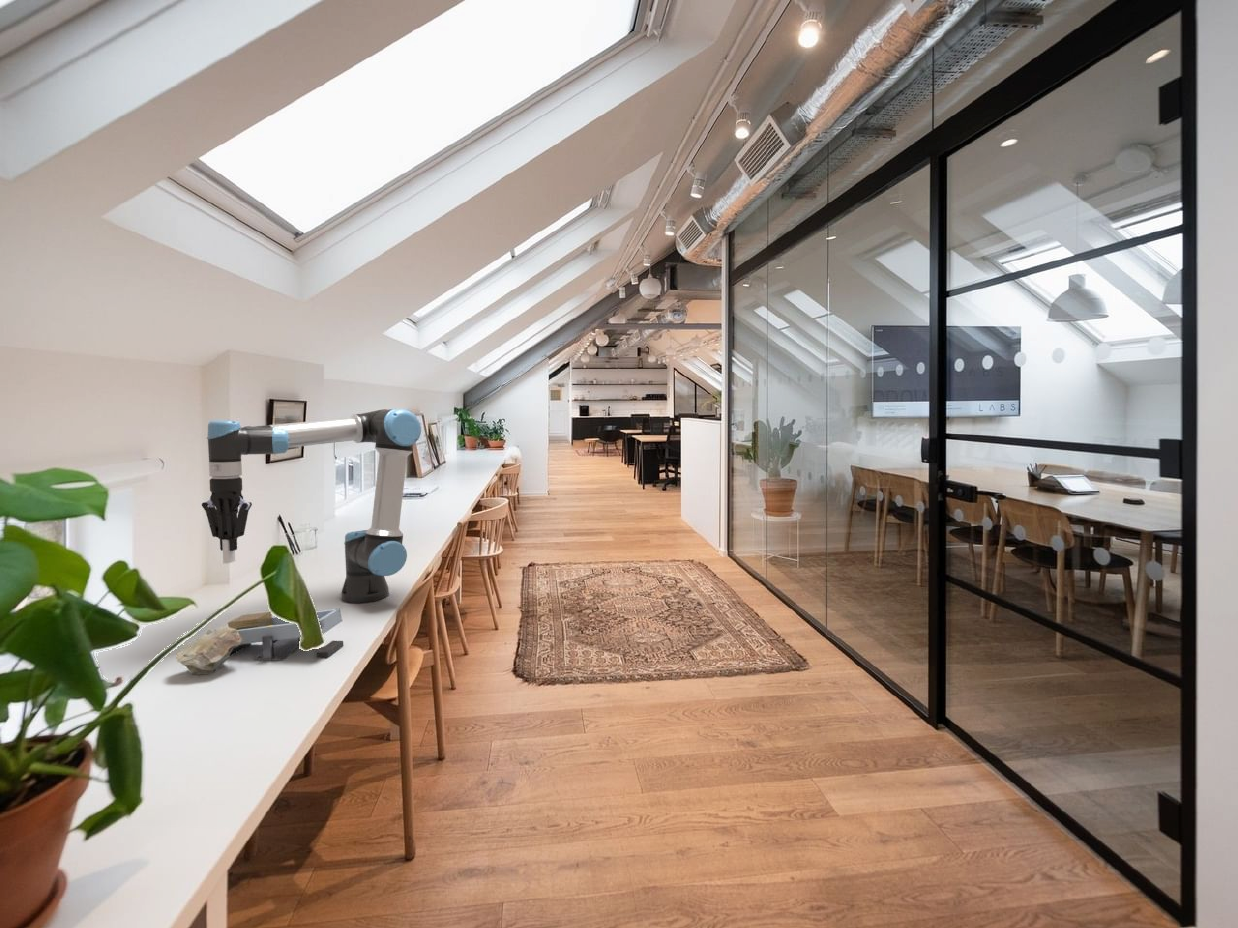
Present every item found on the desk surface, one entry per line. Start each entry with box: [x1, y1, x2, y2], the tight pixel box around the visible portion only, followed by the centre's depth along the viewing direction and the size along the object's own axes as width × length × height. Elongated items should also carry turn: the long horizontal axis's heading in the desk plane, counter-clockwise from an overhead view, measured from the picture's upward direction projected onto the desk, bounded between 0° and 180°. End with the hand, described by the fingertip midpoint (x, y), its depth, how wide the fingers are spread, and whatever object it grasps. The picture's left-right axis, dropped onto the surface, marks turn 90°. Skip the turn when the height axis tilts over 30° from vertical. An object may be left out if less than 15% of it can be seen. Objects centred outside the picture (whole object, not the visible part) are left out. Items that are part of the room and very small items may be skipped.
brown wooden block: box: [227, 611, 273, 630], centre depth 165 cm, size 6×8×4 cm
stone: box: [175, 625, 243, 675], centre depth 151 cm, size 11×14×10 cm
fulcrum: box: [229, 636, 344, 662], centre depth 164 cm, size 14×29×6 cm, turn 87°
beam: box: [237, 608, 343, 645], centre depth 164 cm, size 12×28×4 cm, turn 87°
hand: (229, 562), depth 170 cm, fingers closed
